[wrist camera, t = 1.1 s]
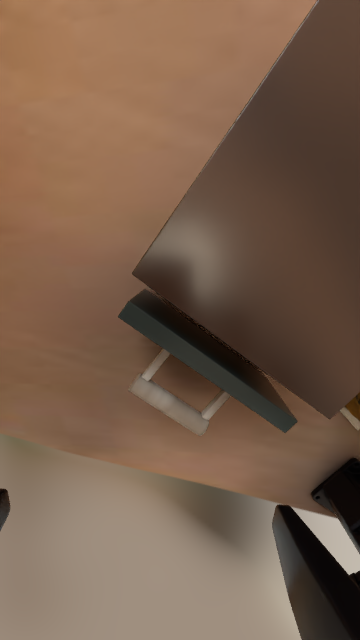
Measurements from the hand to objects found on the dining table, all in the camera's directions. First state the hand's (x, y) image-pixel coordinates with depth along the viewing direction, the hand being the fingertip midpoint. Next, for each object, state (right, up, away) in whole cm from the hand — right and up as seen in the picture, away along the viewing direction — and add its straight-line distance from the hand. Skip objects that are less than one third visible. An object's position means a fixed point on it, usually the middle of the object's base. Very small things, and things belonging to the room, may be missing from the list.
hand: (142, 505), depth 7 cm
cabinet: (+10, +13, +11) cm, 19 cm away
